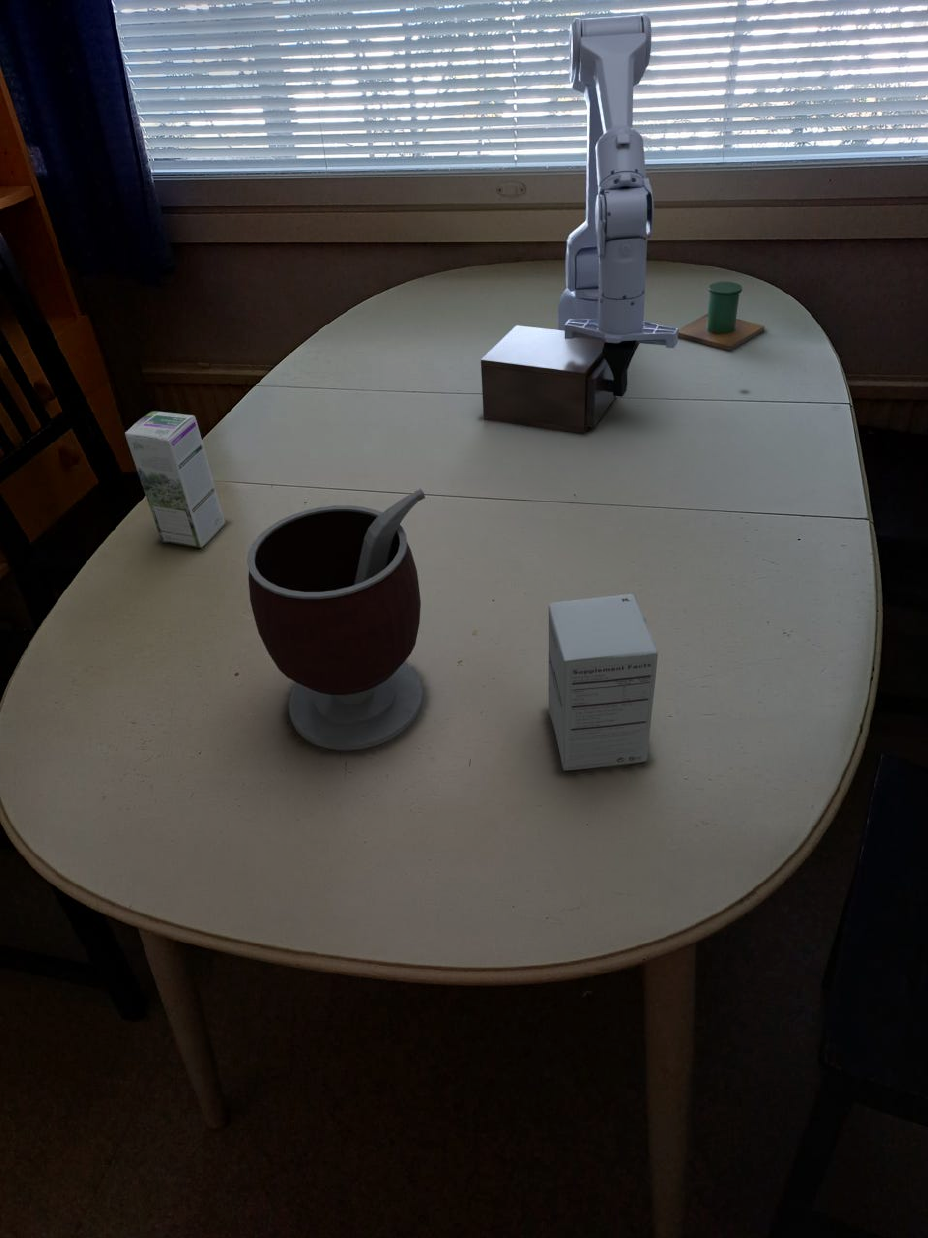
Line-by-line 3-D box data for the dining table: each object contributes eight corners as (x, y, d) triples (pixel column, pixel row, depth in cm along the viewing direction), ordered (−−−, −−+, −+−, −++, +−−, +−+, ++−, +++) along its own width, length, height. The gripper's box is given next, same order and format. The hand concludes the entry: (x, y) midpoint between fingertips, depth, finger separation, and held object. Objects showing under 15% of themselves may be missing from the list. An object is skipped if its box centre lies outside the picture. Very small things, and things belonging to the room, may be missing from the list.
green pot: (698, 329, 143) (702, 288, 138) (715, 319, 145) (720, 279, 141) (725, 336, 140) (730, 294, 136) (742, 326, 142) (748, 285, 138)
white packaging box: (546, 711, 80) (546, 599, 72) (629, 702, 80) (637, 590, 72) (560, 774, 74) (561, 660, 66) (649, 764, 75) (661, 650, 67)
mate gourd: (304, 778, 76) (255, 590, 63) (264, 678, 86) (216, 498, 73) (471, 718, 80) (457, 531, 67) (415, 630, 90) (393, 452, 77)
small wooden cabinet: (612, 394, 128) (615, 335, 123) (583, 434, 120) (585, 373, 114) (517, 381, 134) (516, 324, 128) (483, 418, 125) (480, 359, 120)
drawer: (627, 392, 127) (630, 345, 122) (602, 428, 119) (604, 380, 114) (530, 379, 132) (529, 334, 128) (500, 413, 124) (498, 366, 120)
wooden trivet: (674, 336, 143) (675, 331, 143) (709, 317, 148) (709, 312, 148) (730, 351, 137) (730, 346, 137) (764, 330, 143) (764, 325, 142)
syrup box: (227, 523, 108) (197, 412, 99) (201, 550, 104) (167, 437, 95) (186, 517, 110) (153, 407, 100) (159, 544, 105) (121, 431, 96)
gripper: (556, 298, 112) (557, 399, 121) (671, 306, 107) (664, 412, 116) (574, 279, 117) (574, 378, 126) (685, 287, 112) (677, 389, 120)
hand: (618, 393), depth 121 cm, fingers closed, pressing on drawer
